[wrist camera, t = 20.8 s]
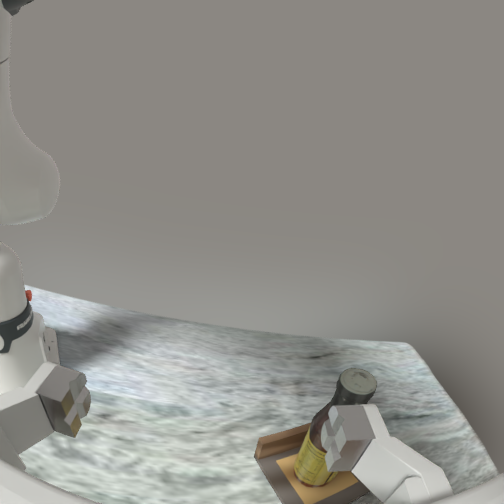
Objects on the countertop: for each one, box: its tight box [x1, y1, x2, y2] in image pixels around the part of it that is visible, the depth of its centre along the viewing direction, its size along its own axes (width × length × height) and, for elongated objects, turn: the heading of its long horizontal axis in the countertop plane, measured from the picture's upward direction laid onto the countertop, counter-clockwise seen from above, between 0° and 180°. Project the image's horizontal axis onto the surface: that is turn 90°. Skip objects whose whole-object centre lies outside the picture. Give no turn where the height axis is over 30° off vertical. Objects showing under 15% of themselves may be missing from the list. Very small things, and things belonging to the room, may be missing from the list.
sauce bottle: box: [294, 368, 377, 488], centre depth 31 cm, size 7×6×20 cm
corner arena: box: [254, 423, 370, 504], centre depth 34 cm, size 14×14×5 cm
